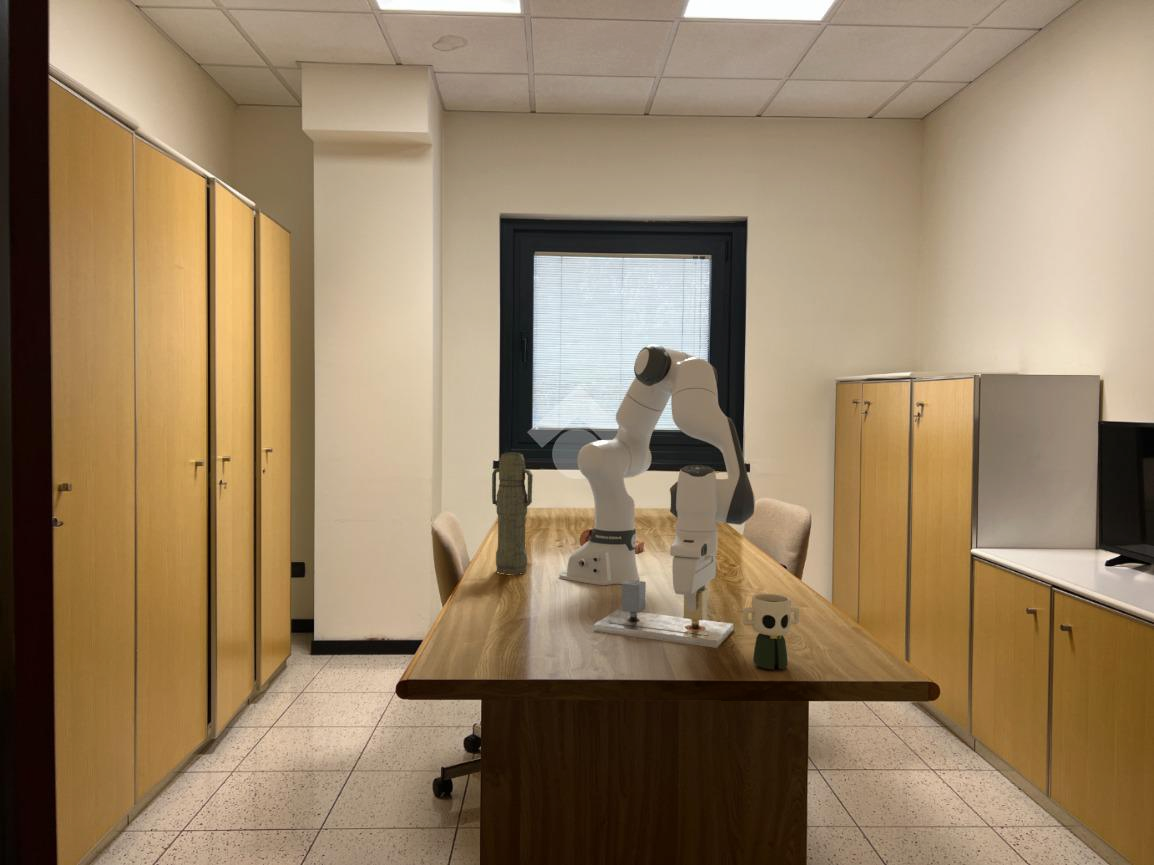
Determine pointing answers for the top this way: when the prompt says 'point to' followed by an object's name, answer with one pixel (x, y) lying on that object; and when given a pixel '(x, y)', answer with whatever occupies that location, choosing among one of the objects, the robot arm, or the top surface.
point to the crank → (586, 538)
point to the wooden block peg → (701, 608)
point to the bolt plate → (659, 622)
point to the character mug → (771, 628)
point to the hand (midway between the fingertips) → (695, 607)
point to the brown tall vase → (511, 512)
